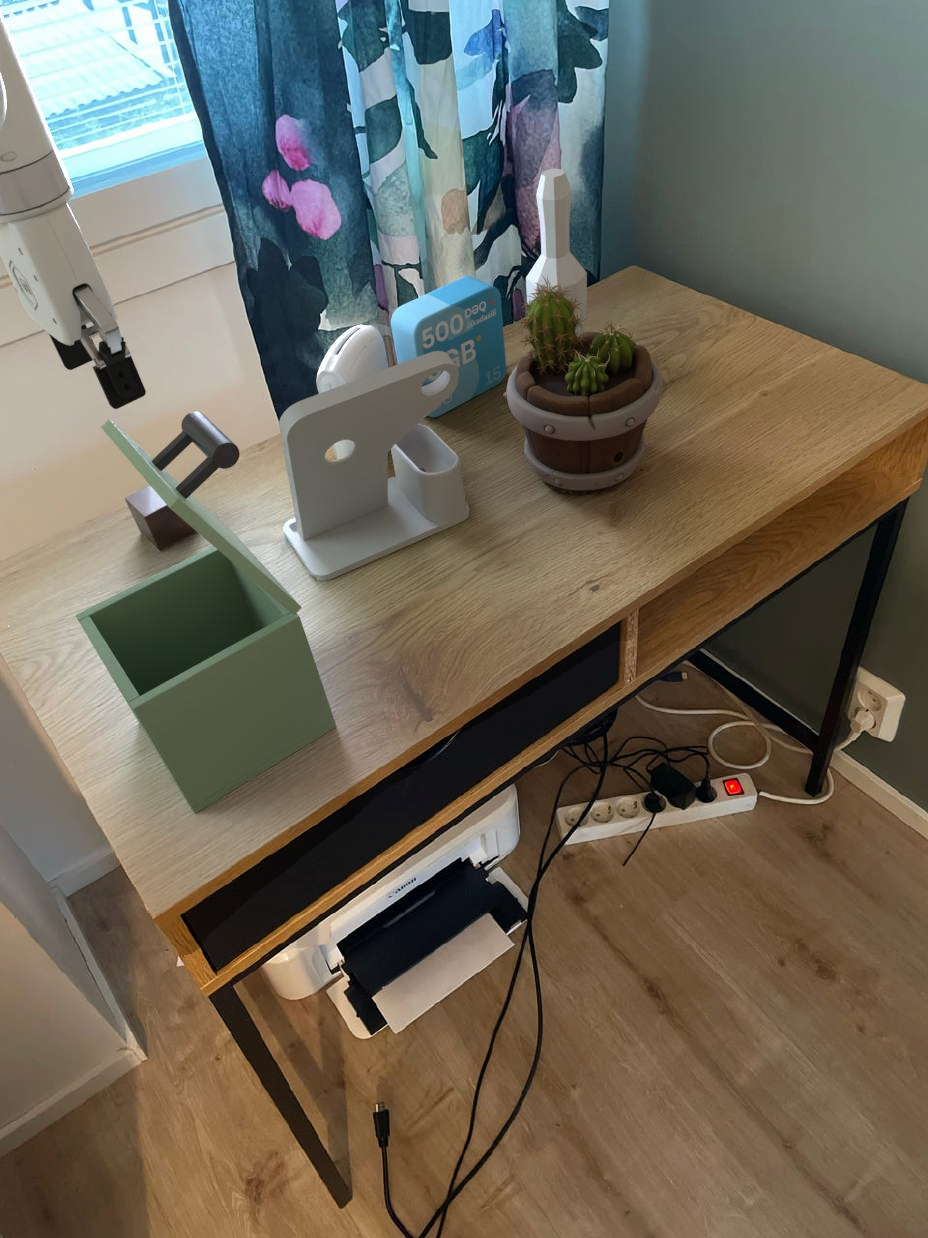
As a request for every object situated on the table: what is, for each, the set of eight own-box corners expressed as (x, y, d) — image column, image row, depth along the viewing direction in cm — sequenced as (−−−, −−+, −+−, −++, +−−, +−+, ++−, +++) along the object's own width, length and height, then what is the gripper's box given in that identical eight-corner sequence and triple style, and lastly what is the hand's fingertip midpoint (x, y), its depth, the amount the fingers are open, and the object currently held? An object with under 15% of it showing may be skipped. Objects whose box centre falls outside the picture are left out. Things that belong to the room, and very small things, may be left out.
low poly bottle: (557, 347, 110) (551, 156, 94) (597, 363, 106) (597, 168, 90) (521, 369, 107) (508, 176, 91) (560, 387, 103) (554, 189, 88)
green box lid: (169, 507, 52) (236, 443, 52) (100, 426, 59) (159, 370, 59) (294, 615, 63) (349, 561, 63) (223, 536, 70) (273, 488, 70)
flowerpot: (683, 447, 93) (699, 259, 79) (607, 531, 85) (610, 338, 71) (564, 411, 100) (559, 231, 86) (484, 485, 92) (464, 301, 78)
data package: (427, 423, 101) (412, 324, 93) (404, 408, 104) (387, 310, 95) (508, 379, 106) (500, 282, 97) (483, 366, 108) (474, 270, 100)
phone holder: (431, 466, 95) (406, 307, 82) (478, 515, 89) (459, 351, 76) (280, 529, 91) (229, 370, 78) (318, 586, 84) (269, 423, 71)
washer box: (195, 814, 68) (132, 709, 59) (138, 721, 75) (74, 614, 66) (337, 726, 72) (299, 616, 63) (270, 647, 79) (228, 537, 70)
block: (160, 552, 90) (144, 517, 87) (140, 532, 93) (123, 497, 89) (199, 530, 92) (184, 495, 89) (178, 511, 94) (163, 477, 91)
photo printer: (366, 469, 96) (343, 366, 87) (330, 464, 98) (304, 362, 89) (403, 416, 103) (385, 315, 94) (369, 412, 104) (348, 312, 95)
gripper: (-69, 174, 71) (29, 366, 84) (10, 229, 61) (108, 437, 74) (21, 144, 74) (103, 333, 86) (109, 191, 64) (188, 398, 77)
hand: (105, 381), depth 80 cm, fingers open, 9 cm apart
